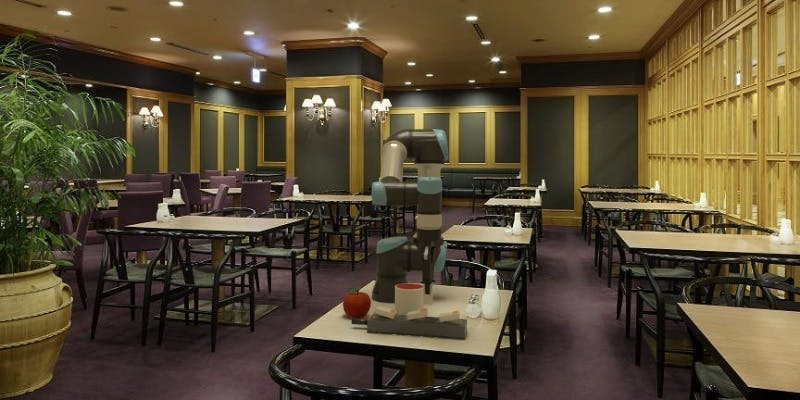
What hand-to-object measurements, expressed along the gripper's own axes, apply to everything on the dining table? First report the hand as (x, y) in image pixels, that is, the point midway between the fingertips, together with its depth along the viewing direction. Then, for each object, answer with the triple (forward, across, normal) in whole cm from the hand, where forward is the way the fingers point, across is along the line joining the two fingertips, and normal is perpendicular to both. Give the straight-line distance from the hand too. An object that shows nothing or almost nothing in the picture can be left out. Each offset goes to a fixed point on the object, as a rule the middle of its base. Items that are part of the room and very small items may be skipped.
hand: (427, 303), depth 180 cm
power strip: (+9, 0, -6) cm, 11 cm away
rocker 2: (+3, 0, -3) cm, 5 cm away
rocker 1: (+3, 0, -13) cm, 14 cm away
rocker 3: (+3, 0, +7) cm, 8 cm away
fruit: (+9, -13, -26) cm, 31 cm away
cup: (+9, -19, -9) cm, 23 cm away
